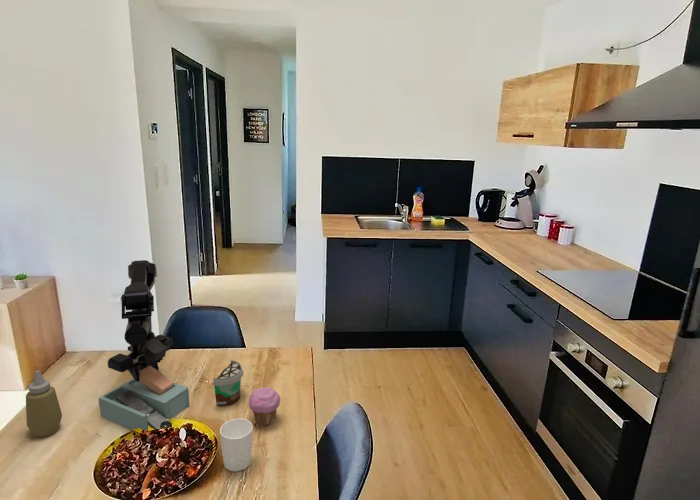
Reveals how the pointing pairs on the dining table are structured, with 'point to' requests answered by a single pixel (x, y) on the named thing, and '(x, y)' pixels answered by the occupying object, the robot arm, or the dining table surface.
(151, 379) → the salmon orange rectangular block
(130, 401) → the lever
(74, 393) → the dining table surface
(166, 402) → the jig
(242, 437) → the white cup
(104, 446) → the dining table surface
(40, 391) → the squeeze bottle
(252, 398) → the cupcake
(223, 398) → the food container
